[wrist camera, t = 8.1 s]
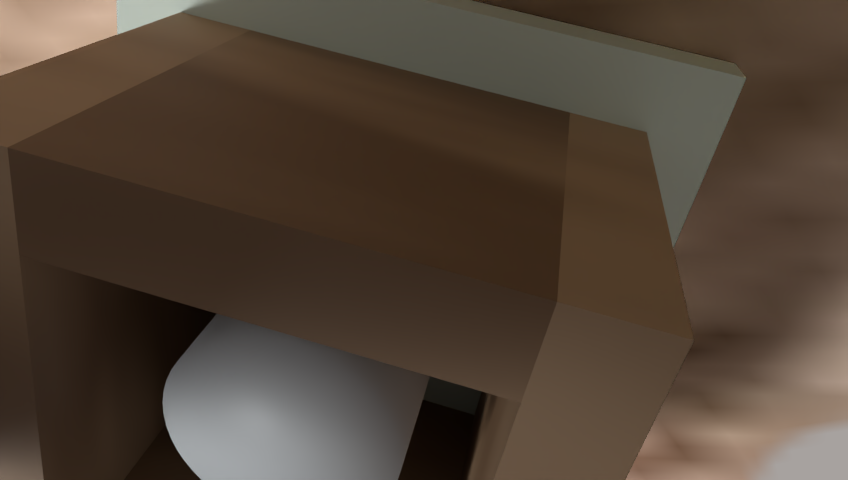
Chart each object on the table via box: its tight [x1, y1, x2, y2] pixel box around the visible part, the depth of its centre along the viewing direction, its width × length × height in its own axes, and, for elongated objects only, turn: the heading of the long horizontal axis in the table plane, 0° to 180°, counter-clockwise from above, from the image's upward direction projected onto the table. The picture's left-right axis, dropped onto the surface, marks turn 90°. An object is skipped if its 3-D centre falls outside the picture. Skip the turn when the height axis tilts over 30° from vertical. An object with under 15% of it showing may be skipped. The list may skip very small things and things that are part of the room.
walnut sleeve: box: [0, 12, 694, 480], centre depth 10 cm, size 7×7×5 cm
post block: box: [117, 0, 746, 480], centre depth 10 cm, size 9×9×5 cm
